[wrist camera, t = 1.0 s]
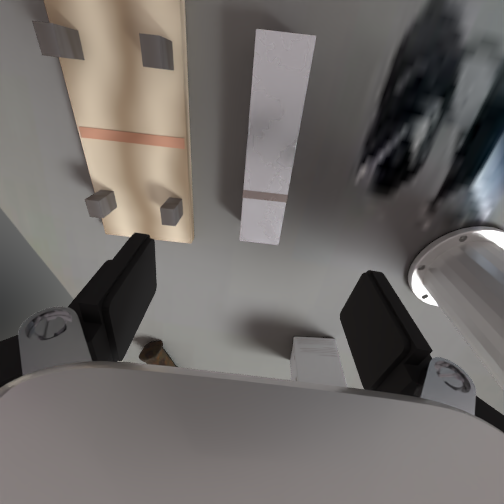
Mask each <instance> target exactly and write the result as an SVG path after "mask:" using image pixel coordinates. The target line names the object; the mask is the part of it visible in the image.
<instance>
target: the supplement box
mask: <svg viewBox="0 0 504 504" xmlns="http://www.w3.org/2000/svg"><path fill="white" fill-rule="evenodd" d="M290 367H291V380H292V381H300V382H308V383H316V384H324V385H332V386H340V387H347V384H346V380H345V376H344V372H343V368H342V364H341V360H340V356H339V352H338V348H337V345H336V340H335V339H332V338H315V337H294V338H293V348H292V354H291V359H290Z"/></svg>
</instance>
